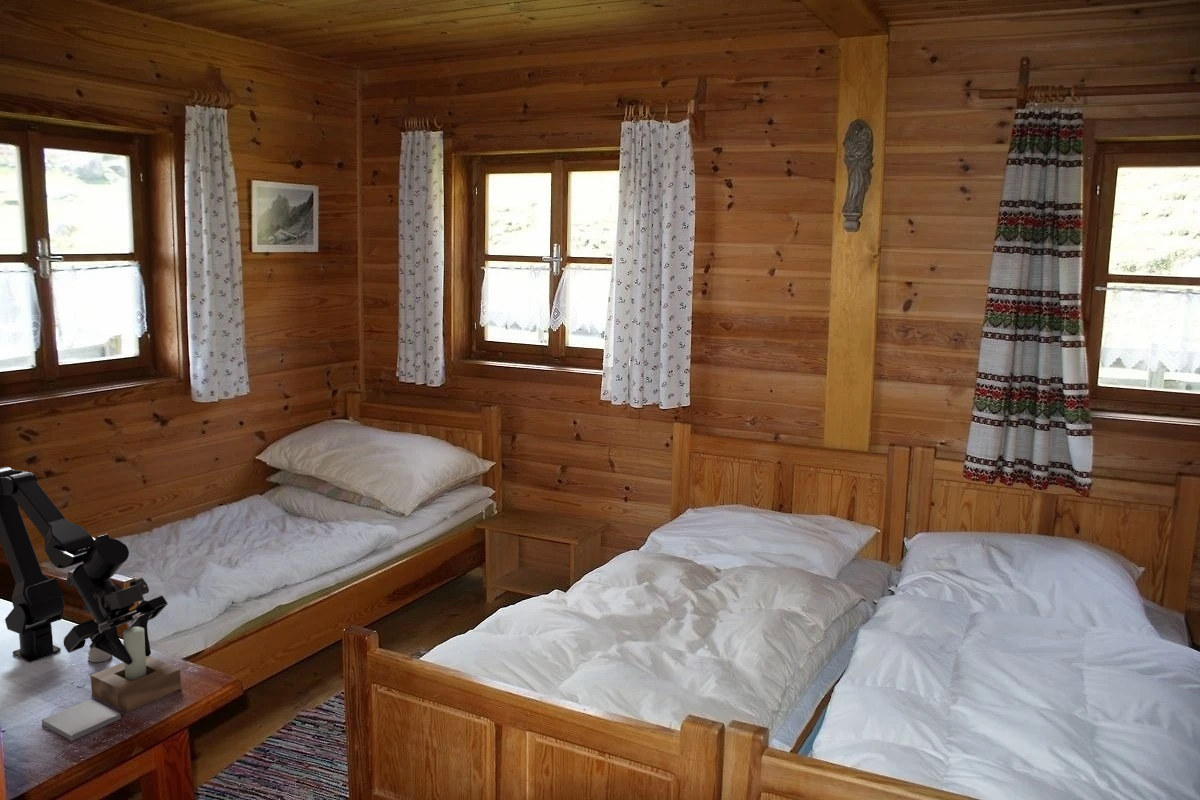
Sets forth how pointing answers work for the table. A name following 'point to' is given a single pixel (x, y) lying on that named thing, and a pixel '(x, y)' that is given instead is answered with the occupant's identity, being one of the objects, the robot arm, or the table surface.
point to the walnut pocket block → (135, 684)
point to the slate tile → (81, 719)
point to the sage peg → (135, 653)
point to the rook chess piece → (98, 655)
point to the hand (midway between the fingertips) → (140, 659)
